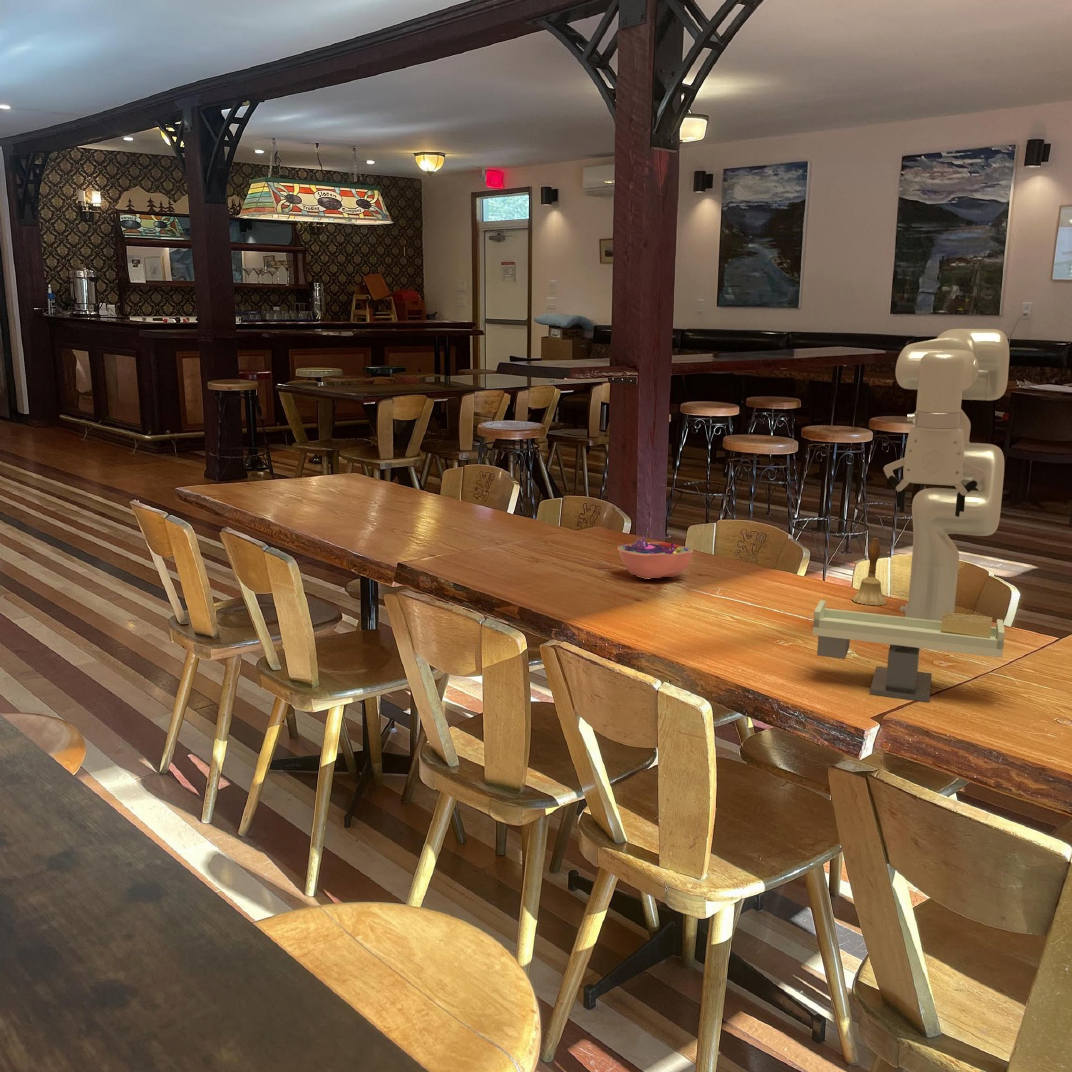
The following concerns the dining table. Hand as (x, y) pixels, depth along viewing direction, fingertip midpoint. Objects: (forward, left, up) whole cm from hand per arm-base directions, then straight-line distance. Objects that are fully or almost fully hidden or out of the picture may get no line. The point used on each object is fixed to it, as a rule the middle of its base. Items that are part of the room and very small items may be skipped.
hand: (929, 513), depth 187 cm
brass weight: (+12, 0, -21) cm, 24 cm away
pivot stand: (+5, -7, -31) cm, 32 cm away
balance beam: (+5, -7, -26) cm, 28 cm away
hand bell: (-50, +24, -32) cm, 64 cm away
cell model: (-85, -18, -32) cm, 92 cm away
